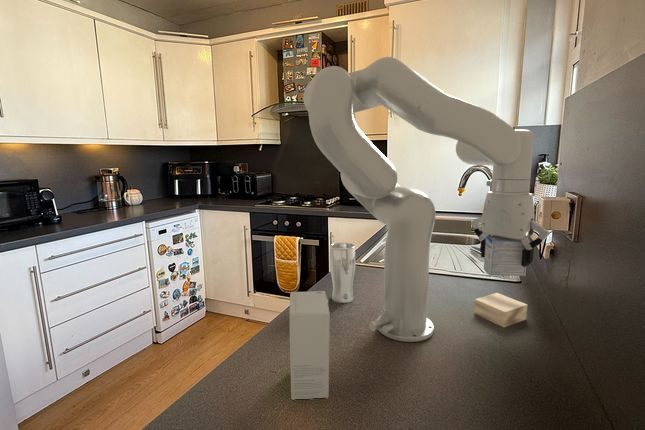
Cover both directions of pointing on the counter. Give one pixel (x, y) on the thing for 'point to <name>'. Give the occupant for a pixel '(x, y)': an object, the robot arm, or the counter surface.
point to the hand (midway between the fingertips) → (504, 260)
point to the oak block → (500, 309)
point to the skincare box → (309, 344)
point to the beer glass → (342, 271)
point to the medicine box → (503, 256)
